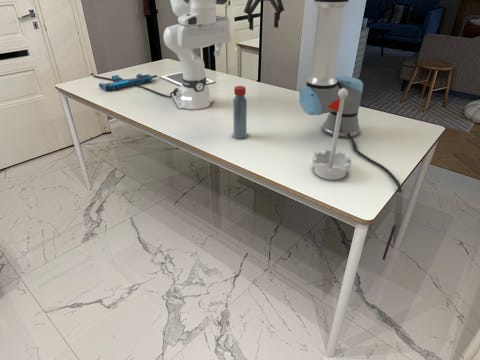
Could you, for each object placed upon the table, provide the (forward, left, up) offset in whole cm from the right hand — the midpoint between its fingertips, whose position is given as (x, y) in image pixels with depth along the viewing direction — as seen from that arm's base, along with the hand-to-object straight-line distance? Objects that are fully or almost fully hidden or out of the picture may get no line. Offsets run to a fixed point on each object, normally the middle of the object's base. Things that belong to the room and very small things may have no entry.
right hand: (263, 28), depth 163 cm
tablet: (+53, +25, -36) cm, 68 cm away
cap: (-35, +29, -15) cm, 48 cm away
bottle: (-35, +29, -36) cm, 58 cm away
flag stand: (-75, +13, -36) cm, 84 cm away
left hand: (-30, +41, -3) cm, 51 cm away
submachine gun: (+63, +60, -36) cm, 94 cm away
